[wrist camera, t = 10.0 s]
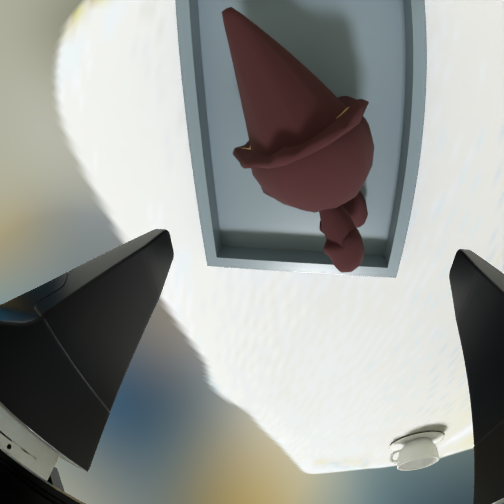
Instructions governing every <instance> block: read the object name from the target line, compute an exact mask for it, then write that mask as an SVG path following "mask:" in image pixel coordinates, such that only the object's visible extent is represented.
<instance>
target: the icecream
mask: <svg viewBox="0 0 504 504" xmlns="http://www.w3.org/2000/svg"><path fill="white" fill-rule="evenodd" d="M222 17H223V23H224V27H225V32H226V36H227V40H228V45H229V49H230V53H231V58H232V62H233V67H234V71H235V76H236V81H237V85H238V90H239V94H240V99H241V104H242V109H243V113H244V118H245V123H246V128H247V132H248V137H249V141H248V142H247V143H246V144H245V145H243V146H240V147H236V148H234V151H233V155H234V157H235V158H236V159H237V160H238V161H239V163H240V165H241V167H243V168H244V169H246V168H251V170H252V174H253V176H254V178H255V179H256V180H257V182H258V183H259V184H260V186H261V189H262V191H263V193H265V194H266V195H268V196H270V197H272V198H274V199H276V200H277V201H279V202H281V203H282V204H285V205H288V206H291V207H294V208H298V209H300V210H304V211H309V212H314V213H315V212H319V214H320V219H321V221H320V231H321V232H322V233H323V234H324V235H325V237H326V242H325V245H324V247H323V250H324V252H325V254H327V255H328V256H329V257H330V259H331V261H332V263H333V265H334V266H335V267H336V268H337V269H338V271H340V272H341V273H345V272H352V271H353V270H355V269H356V268H358V267H359V265H360V264H361V263H362V261H363V257H364V253H365V249H364V245H363V241H362V237H361V234H360V233H359V230H358V229H357V228H358V227H361V226H362V225H364V223H365V221H366V219H367V216H368V211H367V205H366V200H365V198H364V196H363V194H362V193H361V191H360V189H361V188H362V186H363V184H364V183H365V181H366V178H367V176H368V174H369V172H370V170H371V168H372V165H373V155H374V143H373V139H372V135H371V131H370V127H369V124H368V122H367V120H366V119H365V117H364V116H363V115H364V112H365V110H366V108H367V106H368V104H369V102H368V101H366V100H363V99H358V100H357V99H355V98H352V97H349V96H341V97H338V98H337V97H336V96H335V95H334V94H333V93H332V92H331V91H330V90H329V89H328V88H327V87H326V86H325V85H324V84H323V83H322V82H321V81H320V80H319V79H318V78H317V77H316V76H315V75H314V74H313V73H312V72H311V71H310V70H309V69H308V68H306V67H305V66H304V65H303V64H302V63H301V62H300V61H299V60H298V59H296V58H295V57H294V56H293V55H292V54H291V53H290V52H288V51H287V50H286V49H285V48H284V47H283V46H281V45H280V44H279V43H278V42H277V41H275V40H274V39H273V38H272V37H271V36H269V35H268V34H267V33H266V32H264V31H263V30H262V29H261V28H259V27H258V26H257V25H256V24H254V23H253V22H252V21H251V20H249V19H248V18H247V17H245V16H244V15H243V14H241V13H240V12H238V11H237V10H235V9H234V8H232V7H229V8H226V9H225V10H223V11H222Z"/></svg>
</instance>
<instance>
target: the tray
mask: <svg viewBox="0 0 504 504" xmlns="http://www.w3.org/2000/svg"><path fill="white" fill-rule="evenodd" d="M175 1H176V16H177V29H178V42H179V54H180V64H181V75H182V85H183V94H184V104H185V113H186V121H187V130H188V138H189V146H190V153H191V161H192V168H193V176H194V183H195V190H196V197H197V204H198V210H199V217H200V223H201V230H202V236H203V242H204V248H205V254H206V260H207V266H217V267H230V268H244V269H259V270H274V271H289V272H305V273H321V274H338V275H356V276H374V277H393V278H396V275H397V272H398V268H399V264H400V260H401V256H402V252H403V247H404V243H405V239H406V234H407V230H408V225H409V220H410V215H411V210H412V204H413V199H414V193H415V187H416V181H417V175H418V168H419V160H420V153H421V144H422V135H423V125H424V112H425V97H426V70H427V43H426V17H425V3H424V0H175ZM229 7H232V8H234V9H235V10H237V11H238V12H240V13H241V14H243V15H244V16H245V17H247V18H248V19H249V20H251V21H252V22H253V23H254V24H256V25H257V26H258V27H259V28H261V29H262V30H263V31H264V32H266V33H267V34H268V35H269V36H271V37H272V38H273V39H274V40H275V41H277V42H278V43H279V44H280V45H281V46H283V47H284V48H285V49H286V50H287V51H288V52H290V53H291V54H292V55H293V56H294V57H295V58H296V59H298V60H299V61H300V62H301V63H302V64H303V65H304V66H305V67H306V68H308V69H309V70H310V71H311V72H312V73H313V74H314V75H315V76H316V77H317V78H318V79H319V80H320V81H321V82H322V83H323V84H324V85H325V86H326V87H327V88H328V89H329V90H330V91H331V92H332V93H333V94H334V95H335V96H336V97H337V98H338V97H341V96H349V97H352V98H355V99H357V100H358V99H363V100H366V101H368V102H369V104H368V106H367V108H366V110H365V112H364V115H363V116H364V117H365V119H366V120H367V122H368V124H369V127H370V131H371V135H372V139H373V143H374V155H373V165H372V168H371V170H370V172H369V174H368V176H367V178H366V181H365V183H364V184H363V186H362V188H361V189H360V191H361V193H362V194H363V196H364V198H365V200H366V205H367V211H368V216H367V219H366V221H365V223H364V225H362V226H361V227H358V228H357V229H358V230H359V233H360V234H361V237H362V241H363V245H364V249H365V253H364V257H363V261H362V263H361V264H360V265H359V267H358V268H356V269H355V270H353V271H352V272H345V273H341V272H340V271H338V269H337V268H336V267H335V266H334V265H333V263H332V261H331V259H330V257H329V256H328V255H327V254H325V252H324V250H323V247H324V245H325V242H326V237H325V235H324V234H323V233H322V232H321V231H320V221H321V219H320V214H319V212H315V213H314V212H309V211H304V210H300V209H298V208H294V207H291V206H288V205H285V204H282V203H281V202H279V201H277V200H276V199H274V198H272V197H270V196H268V195H266V194H265V193H263V191H262V189H261V186H260V184H259V183H258V182H257V180H256V179H255V178H254V176H253V174H252V170H251V168H246V169H244V168H243V167H241V165H240V163H239V161H238V160H237V159H236V158H235V157H234V155H233V151H234V148H236V147H240V146H243V145H245V144H246V143H247V142H248V141H249V137H248V132H247V128H246V123H245V118H244V113H243V109H242V104H241V99H240V94H239V90H238V85H237V81H236V76H235V71H234V67H233V62H232V58H231V53H230V49H229V45H228V40H227V36H226V32H225V27H224V23H223V17H222V11H223V10H225V9H226V8H229Z"/></svg>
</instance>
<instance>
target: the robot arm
mask: <svg viewBox="0 0 504 504" xmlns="http://www.w3.org/2000/svg"><path fill="white" fill-rule="evenodd" d="M173 255H174V253H173V247H172V243H171V238H170V234H169V232H168V231H167V230H165V229H155V230H153V231H150V232H148V233H146V234H144V235H142V236H140V237H138V238H135V239H133V240H131V241H129V242H127V243H125V244H123V245H121V246H119V247H117V248H115V249H112V250H110V251H108V252H106V253H105V254H102V255H100V256H98V257H97V258H94V259H92V260H90V261H88V262H86V263H84V264H82V265H80V266H78V267H76V268H74V269H72V270H71V271H69V273H68V272H67V273H65V274H63V275H61V276H59V277H57V278H55V279H53V280H51V281H49V282H47V283H45V284H43V285H41V286H39V287H37V288H35V289H33V290H31V291H29V292H27V293H24V294H22V295H20V296H18V297H16V298H14V299H12V300H10V301H8V302H6V303H4V304H1V305H0V504H85V503H83V502H81V501H79V500H77V499H76V498H74V497H72V496H71V495H69V494H67V493H65V492H64V489H63V486H62V483H61V480H60V477H59V473H58V470H57V468H55V467H54V466H55V464H56V462H57V459H58V457H60V458H62V459H64V460H66V461H67V462H69V463H71V464H73V465H75V466H77V467H79V468H81V469H82V470H84V471H88V470H89V468H90V466H91V462H92V460H93V457H94V454H95V451H96V449H97V445H98V443H99V440H100V437H101V435H102V432H103V430H104V427H105V424H106V422H107V419H108V417H109V414H110V411H111V408H112V406H113V403H114V401H115V398H116V396H117V393H118V391H119V389H120V386H121V384H122V381H123V378H124V376H125V374H126V372H127V369H128V367H129V365H130V362H131V360H132V358H133V355H134V353H135V350H136V348H137V346H138V344H139V341H140V339H141V337H142V335H143V332H144V330H145V328H146V326H147V324H148V321H149V319H150V317H151V315H152V313H153V310H154V308H155V306H156V304H157V302H158V299H159V297H160V295H161V292H162V289H163V286H164V283H165V280H166V277H167V275H168V272H169V269H170V266H171V263H172V260H173ZM449 278H450V284H451V290H452V296H453V303H454V310H455V316H456V321H457V326H458V331H459V335H460V340H461V345H462V350H463V355H464V361H465V366H466V372H467V379H468V386H469V393H470V401H471V411H472V421H473V435H474V445H475V446H474V474H475V475H474V502H473V504H500V503H503V502H504V274H503V273H502V272H500V271H499V270H498V269H496V268H495V267H493V266H492V265H491V264H489V263H488V262H487V261H485V260H484V259H482V258H481V257H479V256H478V255H477V254H475V253H474V252H472V251H471V250H466V249H459V250H458V251H457V253H456V255H455V258H454V261H453V264H452V267H451V270H450V274H449Z"/></svg>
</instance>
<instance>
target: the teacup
mask: <svg viewBox="0 0 504 504" xmlns="http://www.w3.org/2000/svg"><path fill="white" fill-rule="evenodd" d="M443 438H444V434H443V433H441V432H424V433H418V434H414V435H410V436H407V437H404V438H402V439H399V440H397V441H396V442H394V443H392V444H391V445H390V447H389V449H390V450H391V451H393V453H392V454H391V455H390V462H391V463H393V464H395V463H397V468H398V469H399V470H414V469H420V468H423V467H427V466H430V465H432V464H434V463H436V462H437V461H438V460H439V455H438V451H437V447H436V444H437V443H439V442H440V441H441V440H442V439H443ZM396 453H399V456H398V459H397V460H395V461H394V460H393V459H392V457H393V455H394V454H396Z"/></svg>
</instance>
